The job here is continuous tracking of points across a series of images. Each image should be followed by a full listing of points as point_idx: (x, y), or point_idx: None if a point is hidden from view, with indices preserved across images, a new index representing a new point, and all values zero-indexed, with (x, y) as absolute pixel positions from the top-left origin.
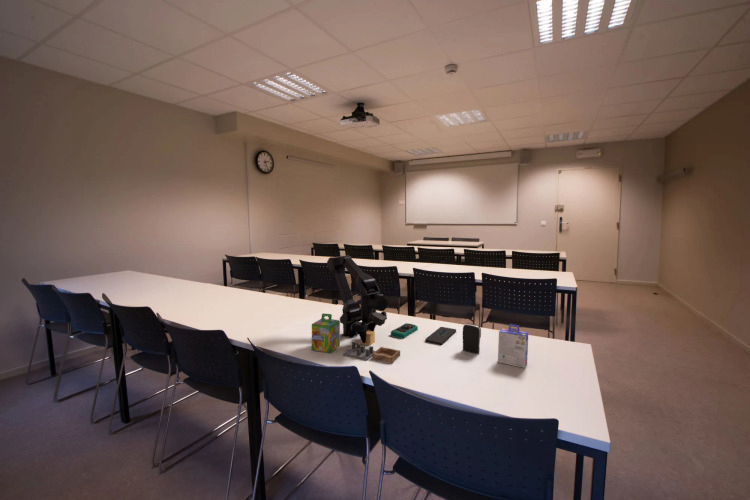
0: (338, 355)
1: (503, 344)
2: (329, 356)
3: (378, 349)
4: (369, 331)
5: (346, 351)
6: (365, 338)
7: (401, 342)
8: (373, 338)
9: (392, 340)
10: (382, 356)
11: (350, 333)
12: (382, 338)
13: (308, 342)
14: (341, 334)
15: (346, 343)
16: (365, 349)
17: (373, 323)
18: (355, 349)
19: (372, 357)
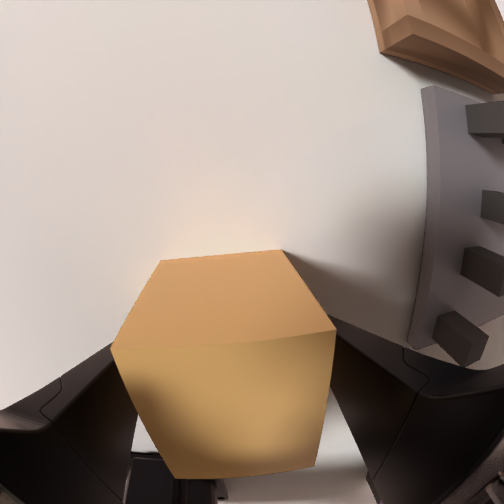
0: (496, 327)
1: None
2: (500, 350)
3: (469, 50)
4: (186, 422)
5: (487, 319)
6: (366, 337)
7: (41, 17)
8: (185, 283)
9: (20, 113)
10: (497, 16)
11: (204, 489)
12: (28, 243)
13: (370, 494)
14: (223, 499)
15: (332, 429)
16: (448, 211)
17: (24, 498)
18: (462, 292)
19: (502, 92)
